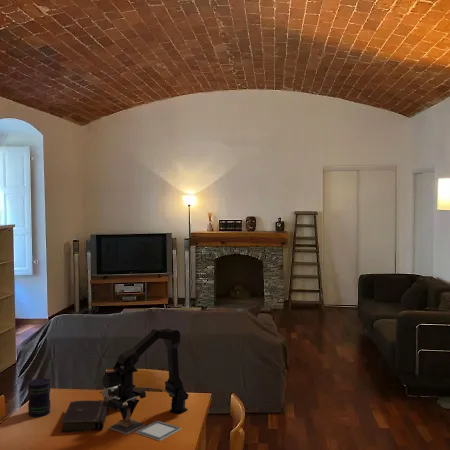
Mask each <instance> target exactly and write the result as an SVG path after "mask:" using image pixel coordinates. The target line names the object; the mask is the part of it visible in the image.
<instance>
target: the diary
mask: <svg viewBox="0 0 450 450" xmlns="http://www.w3.org/2000/svg"><path fill="white" fill-rule="evenodd" d="M107 402H108V401H106V400H105V401H104V400H73V401H70V402H69V405H68V407H67V409H66V411H65V413H64V415H63V417H62V419H61V421H60V424H63V425H62V426H63V427H62V428H61V431H60V434H61V433H63V434H64V433H67V434H68V433H80V432H81V433H82V432H85V431H95V430H96V431H98V430H99V429H100V428H101V430H100V431H103V430H104V429H103V428H104V425H105V422H106V419H107V413H108V410H109V408H108V407H107Z"/></svg>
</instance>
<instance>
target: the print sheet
mask: <svg viewBox="0 0 450 450" xmlns="http://www.w3.org/2000/svg"><path fill="white" fill-rule="evenodd" d="M181 430H182V428H181V427H180V426H176V425H173V424H170V423H166V422H163V421H161V420H155V421H153V422H152V423H149V424H148V425H145V426H143V427H141V428H139V429H137V430H135V431H134V432H135V433H136V434H138V435H141V436H143V437H146V438H150V439H153V440H156V441H163V440H165V439H166V438H168V437H170V436H171V435H173V434H175V433H177V432H179V431H181Z"/></svg>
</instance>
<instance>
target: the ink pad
mask: <svg viewBox="0 0 450 450" xmlns="http://www.w3.org/2000/svg"><path fill="white" fill-rule="evenodd" d="M144 427H146V424H145V423H143V422H139V421H136V420H135V424H134V425H132V426H130V427H128V428H125V427H122V426H119V421H118V422H116V423H115V424H112V425H110V426H109V427H108V429H109V430H112V431H115V432H118V433H120V434H124V435H129V434H131V433H133V432H136V431H138V430H140V429H142V428H144Z"/></svg>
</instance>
